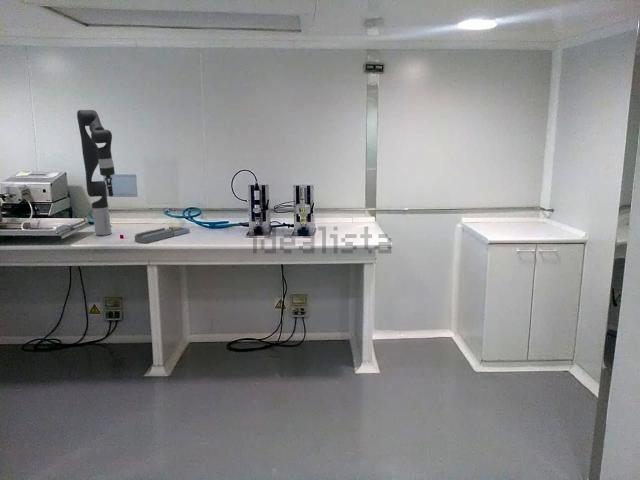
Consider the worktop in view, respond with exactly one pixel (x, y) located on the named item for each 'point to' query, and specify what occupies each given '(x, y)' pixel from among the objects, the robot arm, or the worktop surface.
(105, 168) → the robot arm
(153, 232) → the slotted plate
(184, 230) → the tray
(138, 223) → the worktop surface
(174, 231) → the chip
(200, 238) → the worktop surface
